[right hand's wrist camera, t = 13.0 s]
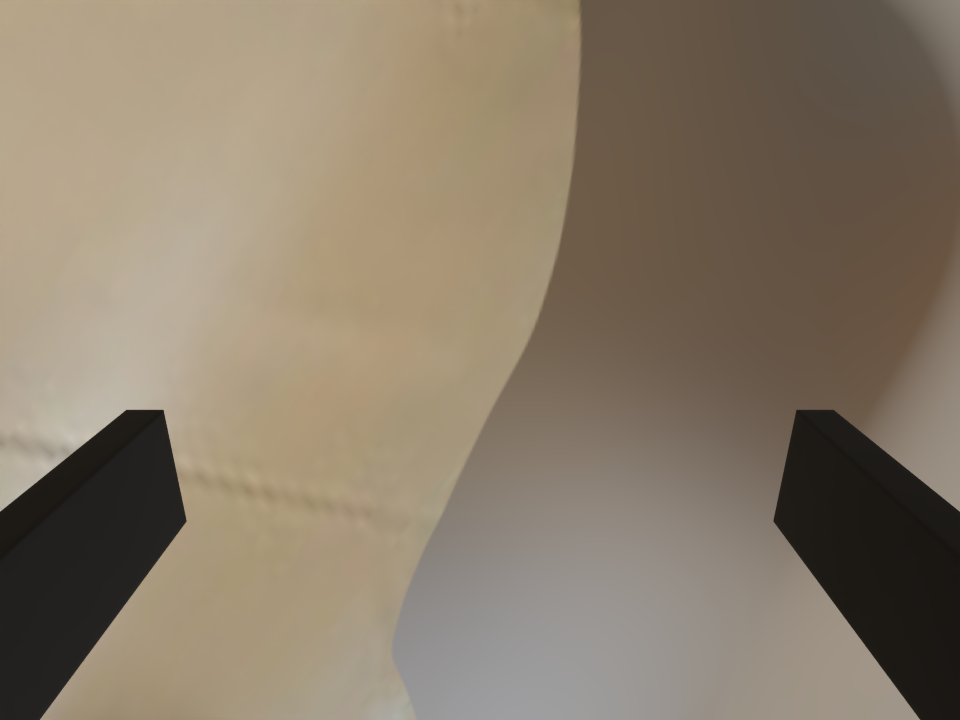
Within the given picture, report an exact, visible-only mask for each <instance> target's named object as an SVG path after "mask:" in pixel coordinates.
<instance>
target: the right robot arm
mask: <svg viewBox="0 0 960 720" xmlns="http://www.w3.org/2000/svg"><path fill="white" fill-rule="evenodd" d="M185 523H186V516H185V511H184V506H183V502H182V497H181V492H180V487H179V482H178V478H177V473H176V468H175V463H174V458H173V453H172V449H171V444H170V439H169V434H168V429H167V425H166V420H165V415H164V410H126V411H125V412H123V413H122V414H121V415H120V416H118V417H117V418H116V419H115V420H113V421H112V422H111V423H110V424H108V425H107V426H106V427H105V428H104V429H102V430H101V431H100V432H99V433H97V434H96V435H95V436H94V437H92V438H91V439H90V440H89V441H87V442H86V443H85V444H84V445H82V446H81V447H80V448H79V449H77V450H76V451H75V452H74V453H73V454H71V455H70V456H69V457H68V458H66V459H65V460H64V461H63V462H61V463H60V464H59V465H58V466H56V467H55V468H54V469H53V470H51V471H50V472H49V473H48V474H46V475H45V476H44V477H43V478H42V479H40V480H39V481H38V482H37V483H35V484H34V485H33V486H32V487H30V488H29V489H28V490H27V491H25V492H24V493H23V494H22V495H20V496H19V497H18V498H17V499H15V500H14V501H13V502H12V503H11V504H9V505H8V506H7V507H6V508H4V509H3V510H2V511H1V512H0V720H40V719H41V717H42V716H43V715H44V713H45V712H46V711H47V709H48V708H49V706H50V705H51V704H52V702H53V701H54V700H55V698H56V697H57V696H58V694H59V693H60V692H61V690H62V689H63V688H64V686H65V685H66V684H67V682H68V681H69V679H70V678H71V677H72V675H73V674H74V673H75V671H76V670H77V669H78V667H79V666H80V665H81V663H82V662H83V661H84V659H85V658H86V657H87V655H88V654H89V652H90V651H91V650H92V648H93V647H94V646H95V644H96V643H97V642H98V640H99V639H100V638H101V636H102V635H103V634H104V632H105V631H106V629H107V628H108V627H109V625H110V624H111V623H112V621H113V620H114V619H115V617H116V616H117V615H118V613H119V612H120V611H121V609H122V608H123V607H124V605H125V604H126V602H127V601H128V600H129V598H130V597H131V596H132V594H133V593H134V592H135V590H136V589H137V588H138V586H139V585H140V584H141V582H142V581H143V579H144V578H145V577H146V575H147V574H148V573H149V571H150V570H151V569H152V567H153V566H154V565H155V563H156V562H157V561H158V559H159V558H160V557H161V555H162V554H163V552H164V551H165V550H166V548H167V547H168V546H169V544H170V543H171V542H172V540H173V539H174V538H175V536H176V535H177V534H178V532H179V531H180V529H181V528H182V527H183V525H184V524H185ZM774 523H775V524H776V525H777V527H778V528H779V529H780V531H781V532H782V534H783V535H784V536H785V538H786V539H787V540H788V542H789V543H790V544H791V546H792V547H793V548H794V550H795V551H796V552H797V554H798V555H799V557H800V558H801V559H802V561H803V562H804V563H805V565H806V566H807V567H808V569H809V570H810V571H811V573H812V574H813V575H814V577H815V578H816V579H817V581H818V582H819V584H820V585H821V586H822V588H823V589H824V590H825V592H826V593H827V594H828V596H829V597H830V598H831V600H832V601H833V602H834V604H835V605H836V606H837V608H838V609H839V611H840V612H841V613H842V615H843V616H844V617H845V619H846V620H847V621H848V623H849V624H850V625H851V627H852V628H853V629H854V631H855V632H856V634H857V635H858V636H859V638H860V639H861V640H862V642H863V643H864V644H865V646H866V647H867V648H868V650H869V651H870V652H871V654H872V655H873V656H874V658H875V659H876V660H877V662H878V663H879V665H880V666H881V667H882V669H883V670H884V671H885V673H886V674H887V675H888V677H889V678H890V679H891V681H892V682H893V684H894V685H895V686H896V688H897V689H898V690H899V692H900V693H901V694H902V696H903V697H904V698H905V700H906V701H907V702H908V704H909V705H910V706H911V708H912V709H913V711H914V712H915V713H916V715H917V716H918V717H919V719H920V720H960V512H959V511H958V510H957V509H956V508H954V507H953V506H952V505H951V504H949V503H948V502H947V501H946V500H945V499H943V498H942V497H941V496H940V495H938V494H937V493H936V492H935V491H933V490H932V489H931V488H930V487H928V486H927V485H926V484H925V483H923V482H922V481H921V480H920V479H918V478H917V477H916V476H915V475H914V474H912V473H911V472H910V471H909V470H907V469H906V468H905V467H904V466H902V465H901V464H900V463H899V462H897V461H896V460H895V459H894V458H892V457H891V456H890V455H889V454H887V453H886V452H885V451H884V450H882V449H881V448H880V447H879V446H878V445H876V444H875V443H874V442H873V441H871V440H870V439H869V438H868V437H866V436H865V435H864V434H863V433H861V432H860V431H859V430H858V429H856V428H855V427H854V426H853V425H852V424H850V423H849V422H848V421H847V420H845V419H844V418H843V417H842V416H840V415H839V414H838V413H837V412H835V411H834V410H797V411H796V415H795V420H794V425H793V429H792V434H791V439H790V444H789V449H788V453H787V458H786V463H785V468H784V473H783V478H782V482H781V487H780V492H779V497H778V502H777V507H776V511H775V516H774Z"/></svg>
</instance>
